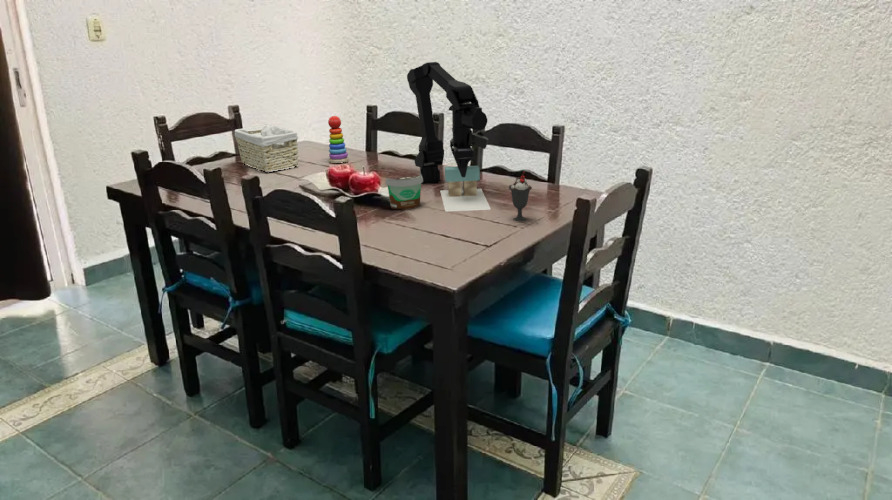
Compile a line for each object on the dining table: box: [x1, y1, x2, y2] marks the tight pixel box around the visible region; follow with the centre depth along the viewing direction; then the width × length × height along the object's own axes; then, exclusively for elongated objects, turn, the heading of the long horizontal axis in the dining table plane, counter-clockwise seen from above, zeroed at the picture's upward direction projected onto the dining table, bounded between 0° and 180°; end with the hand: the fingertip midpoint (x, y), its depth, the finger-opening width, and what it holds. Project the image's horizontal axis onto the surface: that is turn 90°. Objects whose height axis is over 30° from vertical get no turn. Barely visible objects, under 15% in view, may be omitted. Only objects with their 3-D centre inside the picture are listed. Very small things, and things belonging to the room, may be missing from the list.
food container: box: [384, 172, 423, 210], centre depth 202 cm, size 12×6×10 cm, turn 117°
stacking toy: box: [327, 115, 350, 164], centre depth 262 cm, size 8×8×19 cm
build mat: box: [440, 188, 492, 213], centre depth 210 cm, size 14×24×1 cm, turn 4°
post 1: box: [447, 181, 462, 197], centre depth 215 cm, size 4×4×5 cm
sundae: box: [508, 171, 533, 224], centre depth 187 cm, size 7×7×15 cm
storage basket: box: [234, 124, 299, 171], centre depth 259 cm, size 24×16×15 cm
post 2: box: [462, 181, 478, 196], centre depth 215 cm, size 4×4×5 cm
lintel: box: [444, 165, 481, 183], centre depth 213 cm, size 11×4×4 cm, turn 94°
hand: (462, 173), depth 213 cm, fingers open, 9 cm apart
